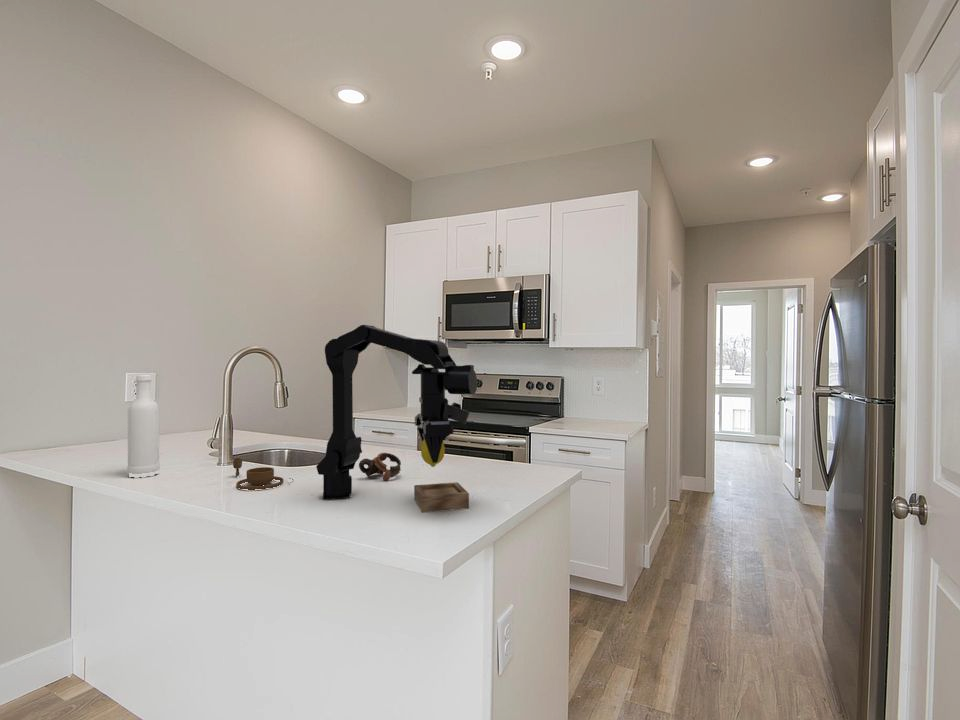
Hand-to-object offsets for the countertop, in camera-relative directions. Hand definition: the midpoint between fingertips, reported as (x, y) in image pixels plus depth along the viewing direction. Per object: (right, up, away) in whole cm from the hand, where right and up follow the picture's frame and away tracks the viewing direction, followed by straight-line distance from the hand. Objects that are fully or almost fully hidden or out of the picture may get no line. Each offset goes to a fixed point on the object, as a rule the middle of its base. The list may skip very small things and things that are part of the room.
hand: (432, 460), depth 118 cm
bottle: (-89, -11, +32) cm, 96 cm away
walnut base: (+2, -11, +3) cm, 11 cm away
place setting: (-51, -12, +24) cm, 57 cm away
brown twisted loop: (-18, -11, +29) cm, 36 cm away
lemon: (0, -2, 0) cm, 2 cm away
